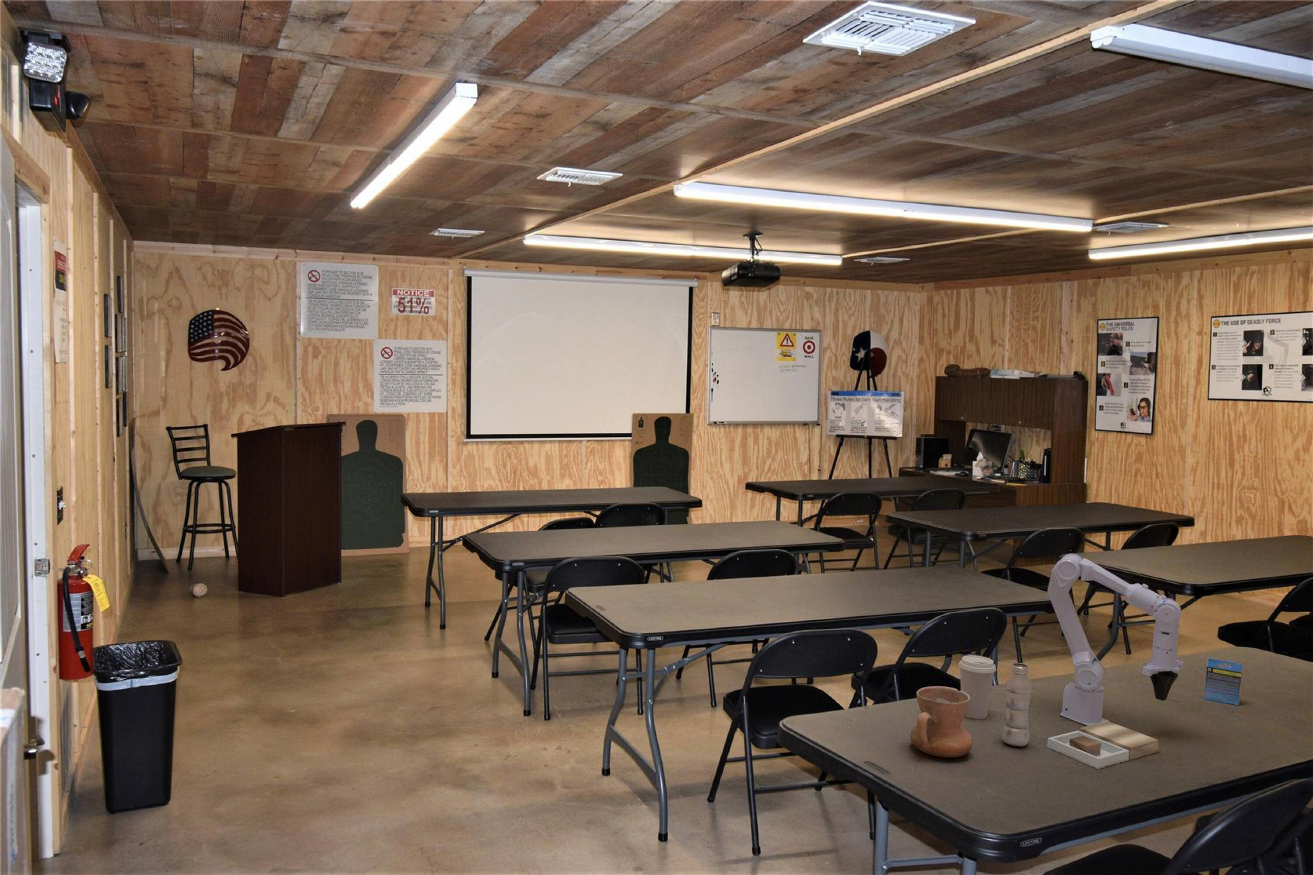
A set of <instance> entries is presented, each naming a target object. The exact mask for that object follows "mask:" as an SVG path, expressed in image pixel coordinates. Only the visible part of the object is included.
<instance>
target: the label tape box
mask: <svg viewBox="0 0 1313 875" xmlns="http://www.w3.org/2000/svg"><path fill="white" fill-rule="evenodd" d="M1221 665H1222V666H1221ZM1223 665H1225V666H1223ZM1227 666H1229V667H1227ZM1205 667H1206V668H1205V669H1206V670H1205V681H1204V695H1203V698H1204V700H1207V701H1212V702H1217V703H1218V702H1219V703H1223V704H1229V705H1235V706H1240V699H1241V690H1242V678H1243V671H1242V668H1243V663H1240V662H1234V661H1229V660H1223V659H1217V658H1211V657H1207V662H1206V666H1205Z"/></svg>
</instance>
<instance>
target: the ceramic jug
mask: <svg viewBox="0 0 1313 875" xmlns="http://www.w3.org/2000/svg"><path fill="white" fill-rule="evenodd" d="M938 699H942V700H946V701H948V702H944V701H937V700H938ZM916 701H917V705H918V708H919V710H920V714H919V715H918V717H917V721H916V722H917V723H916V724H917V725H916V726H914V727H913V728H912V730H911V731H910V734H909V736H910V737H909V738H910V741H911V744H912V745H913V746H914V747H915V748H916V749H917V750H918V751H921V752H923V753H925V754H927V755H930V756H934V757H937V758H938V757H939V758H946V759H947V758H948V759H952V758H954V759H955V758H958V757H959V758H960V757H963V756H965V755H967V754H968V753H969V752H970V751H971V750H972V748H973V744H974V740H973V738H972V735H971V733H970V732H969V731H968V730H966V729H965V728H964V727H963V726H962V723H963V721H964V719H965V717H966V716H965V715H966V712H967V710H968V707H969V703H970V696H969V695H968V694H967V693H965V692H963V691H961V690H960V691H959V690H958V689H957V688H954V687H948V686H940V685H939V686H938V685H937V686H935V685H934V686H925V687H921V688H919V689H918V690H917V691H916Z"/></svg>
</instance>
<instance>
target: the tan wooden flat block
mask: <svg viewBox="0 0 1313 875" xmlns="http://www.w3.org/2000/svg"><path fill="white" fill-rule="evenodd" d="M1079 731H1080V732H1083V733H1086V734H1088V735H1091V736H1093V737H1096V738H1098V739H1101V740H1103V741H1106V742H1109V743H1111V744H1114V745H1116V746H1119V747H1121V748H1124V749H1126V750H1129V760H1130V761H1131V760H1135V759H1137V758H1140V757H1146V756H1148V755H1151V754H1152V755H1153V754H1156V753H1158V752H1159V742H1160V740H1159V739H1157V738H1154V737H1152V736H1148V735H1146V734H1143V733H1141V732H1138V731H1135V730H1133V729H1131V728H1130V729H1129V728H1127V727H1125V726H1122V725H1119V724H1116V723H1114V722H1111V721H1106V722H1102V723H1097V724H1093V725H1089V726H1087V725H1085V726H1083V727H1079ZM1129 760H1128V761H1129Z"/></svg>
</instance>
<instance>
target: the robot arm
mask: <svg viewBox="0 0 1313 875" xmlns="http://www.w3.org/2000/svg"><path fill="white" fill-rule="evenodd" d="M1080 577H1081V578H1080ZM1079 578H1080V582H1081V581H1082V582H1085V581H1087V582H1088V581H1093V582H1096V583H1098V584H1100V585H1103V586H1105V587H1106V588H1109V589H1111V590H1112V591H1114V592H1117V593H1118V594H1120V595H1123V597H1124V599H1125V602H1126V603H1127V604H1128V605H1129V604H1130V606H1133V607H1135V608H1136V609H1137V610H1140V611H1142V612H1144V613H1145V614H1147V615H1148V616H1153V617H1154V619H1155V625H1154V627H1153V634H1152V635H1153V637H1152V650H1151V657H1150V658H1151V660H1150V662H1148V663H1147V664H1146V665H1144V666H1142V672H1141V673H1142V675H1145V676H1147V677H1149V678H1150V680H1151V683H1152V687H1153V692H1154V697H1155V699H1156V700H1160V701H1162V702H1163V701H1166V700H1167V698H1168V696H1169V693H1170V690H1171V688H1172V686H1173V684H1174V683H1175V681H1176V680H1177V678H1178V676H1179V674H1178V673H1177V672H1180V671H1181V670H1183V669H1184V666H1185V665H1184V664H1185V663H1184V662H1185V661H1183V660H1179V659H1178V648H1179V647H1178V646H1179V639H1180V638H1179V637H1180V631H1179V629H1180V624H1179V622H1180V619H1181V616H1182V609H1181V606H1180V604H1179V603H1178V602H1176V601H1175V600H1174V599H1173V598H1169V597H1167V596H1166V595H1164V594H1162V595H1160V594H1158V593H1156V592H1155V591H1153V590H1151V589H1149V585H1147V584H1145V583H1142V584H1140V583H1138V582H1137V583H1134V584H1133V583H1132V584H1130V583H1128V582H1126V581H1125V580H1123V579H1121V578H1120V577H1118V576H1117V575H1115V574H1114V573H1111V572H1110V571H1108V570H1107V569H1106V568H1103V567H1102V566H1100V565H1098V564H1097V563H1095V562H1093V561H1092V560H1090V559H1088V558H1084V557H1082V556H1080V555H1079V554H1076V553H1068V554H1064V556H1063V557H1061V559H1060V560H1058V561H1057V562H1056V564H1055V565H1054V567H1053V568H1052V569H1051V574H1050V577H1049V582H1048V586H1047V595H1048V597H1049V599H1050V602H1051V605H1052V607H1053V610H1054V612H1055V615H1056V617H1057V620H1058V623H1059V624H1060V628H1061V631H1062V632H1063V635H1064V638H1065V640H1066V642H1067V645H1068V648H1069V651H1070V653H1071V656H1072V664H1073V665H1072V666H1073V667H1074V668H1073V669H1074V671H1075V672H1074V681H1070V682H1069V683H1067V684H1066V685H1065V687H1064V690H1063V693H1062V695H1063V696H1062V707H1061V712H1060V714H1059V715H1060V716H1061V717H1063V718H1067V719H1069V720H1072V721H1074V722H1075V723H1079V724H1082V725H1085V726H1089V725H1093V724H1097V723H1102V722H1106V721H1109V720H1108V719H1107V718H1103V706H1104V693H1105V692H1104V691H1105V687H1104V685H1103V684H1102V680H1103V679H1104V678H1105V675H1106V668H1105V666H1104V664H1103V663H1102V662H1101V661H1100V660H1099V659H1098V658H1097V656H1096V653H1095V652H1094V651H1093V649H1092V648H1091V646H1090V644H1089V641H1088V638H1087V635H1086V634H1085V631H1084V629H1083V626H1082V623H1081V620H1080V618H1079V615H1078V613H1077V611H1076V608H1075V606H1074V603H1073V601H1072V597H1071V595H1070V593H1069V592H1070V590H1071V588H1072V586H1073V584H1074V583H1075V582H1076V581H1077V580H1078V579H1079ZM1109 722H1110V721H1109Z"/></svg>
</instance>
